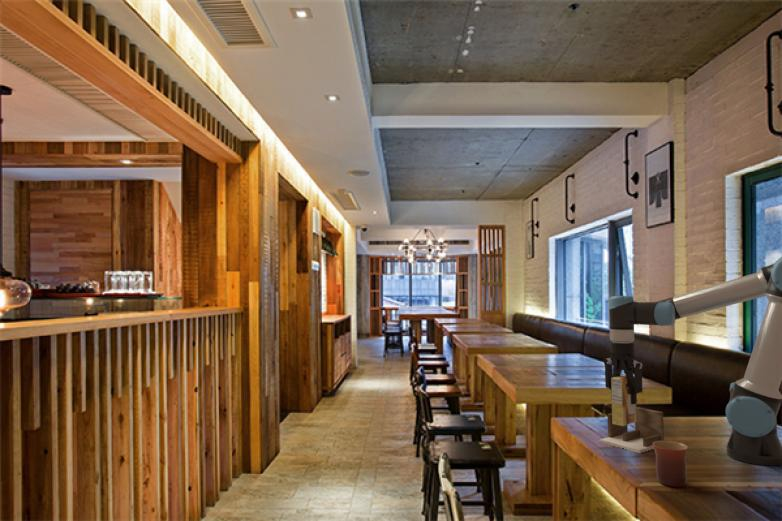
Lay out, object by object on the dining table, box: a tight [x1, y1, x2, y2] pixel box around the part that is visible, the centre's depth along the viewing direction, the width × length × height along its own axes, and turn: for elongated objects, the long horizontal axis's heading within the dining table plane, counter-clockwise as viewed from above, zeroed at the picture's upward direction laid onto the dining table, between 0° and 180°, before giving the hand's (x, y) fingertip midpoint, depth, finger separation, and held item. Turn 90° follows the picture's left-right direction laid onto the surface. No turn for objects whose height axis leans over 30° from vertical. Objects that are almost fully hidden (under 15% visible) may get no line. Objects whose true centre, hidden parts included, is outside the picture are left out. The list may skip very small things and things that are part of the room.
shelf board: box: [599, 435, 654, 454], centre depth 178 cm, size 15×15×1 cm
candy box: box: [611, 374, 637, 426], centre depth 173 cm, size 9×4×15 cm, turn 129°
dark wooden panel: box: [607, 412, 629, 438], centre depth 185 cm, size 1×10×9 cm, turn 123°
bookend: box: [623, 406, 665, 447], centre depth 178 cm, size 9×10×11 cm
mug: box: [652, 440, 689, 488], centre depth 144 cm, size 12×9×10 cm
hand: (624, 411), depth 173 cm, fingers closed on candy box, 4 cm apart
